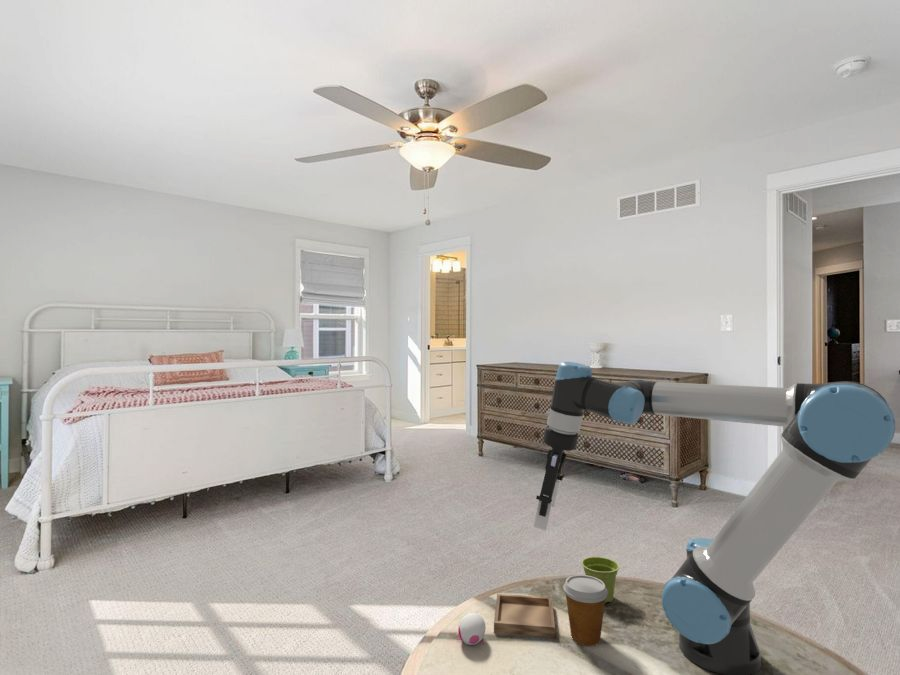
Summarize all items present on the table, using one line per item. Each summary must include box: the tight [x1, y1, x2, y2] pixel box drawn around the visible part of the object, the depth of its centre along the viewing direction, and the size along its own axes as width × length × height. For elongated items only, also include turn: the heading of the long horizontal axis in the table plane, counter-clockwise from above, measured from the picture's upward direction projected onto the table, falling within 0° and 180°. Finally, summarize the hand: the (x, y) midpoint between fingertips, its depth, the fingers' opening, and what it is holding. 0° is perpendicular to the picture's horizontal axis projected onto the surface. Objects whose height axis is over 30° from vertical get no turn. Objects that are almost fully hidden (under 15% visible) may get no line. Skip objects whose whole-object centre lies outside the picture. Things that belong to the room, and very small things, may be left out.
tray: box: [493, 593, 556, 638], centre depth 119 cm, size 14×14×2 cm
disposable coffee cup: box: [563, 574, 608, 647], centre depth 111 cm, size 10×10×12 cm
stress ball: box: [456, 612, 487, 646], centre depth 110 cm, size 8×8×7 cm
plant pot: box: [581, 556, 620, 604], centre depth 129 cm, size 9×9×9 cm
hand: (544, 515), depth 117 cm, fingers open, 13 cm apart
